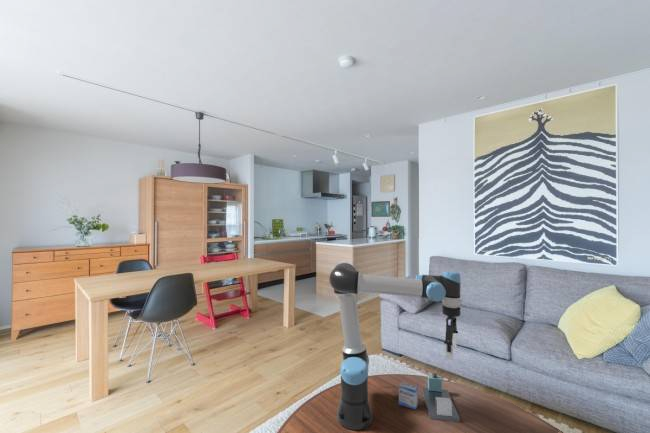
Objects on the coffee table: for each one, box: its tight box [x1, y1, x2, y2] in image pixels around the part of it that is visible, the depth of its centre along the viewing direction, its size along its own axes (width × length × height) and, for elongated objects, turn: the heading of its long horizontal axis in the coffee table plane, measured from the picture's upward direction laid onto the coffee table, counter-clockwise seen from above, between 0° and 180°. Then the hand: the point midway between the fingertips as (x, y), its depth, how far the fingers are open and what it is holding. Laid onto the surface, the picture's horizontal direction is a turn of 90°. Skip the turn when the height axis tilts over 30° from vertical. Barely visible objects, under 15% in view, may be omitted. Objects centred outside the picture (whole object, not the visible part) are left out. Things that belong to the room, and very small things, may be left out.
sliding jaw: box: [427, 372, 443, 392], centre depth 143 cm, size 6×3×8 cm, turn 81°
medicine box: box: [398, 381, 419, 410], centre depth 133 cm, size 8×4×9 cm, turn 62°
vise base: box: [421, 387, 461, 423], centre depth 133 cm, size 12×21×8 cm, turn 170°
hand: (451, 352), depth 131 cm, fingers open, 13 cm apart
